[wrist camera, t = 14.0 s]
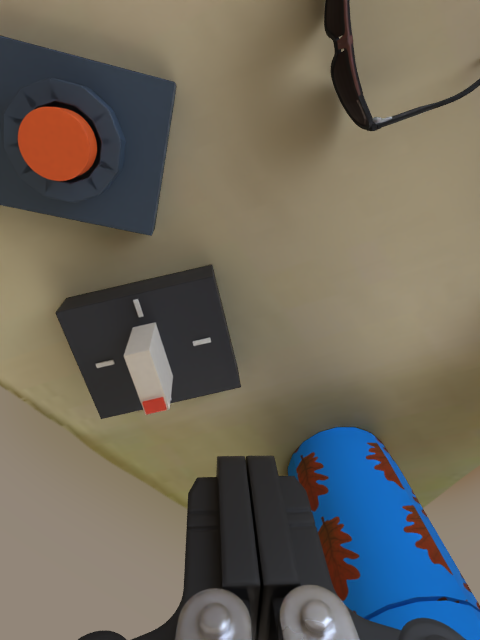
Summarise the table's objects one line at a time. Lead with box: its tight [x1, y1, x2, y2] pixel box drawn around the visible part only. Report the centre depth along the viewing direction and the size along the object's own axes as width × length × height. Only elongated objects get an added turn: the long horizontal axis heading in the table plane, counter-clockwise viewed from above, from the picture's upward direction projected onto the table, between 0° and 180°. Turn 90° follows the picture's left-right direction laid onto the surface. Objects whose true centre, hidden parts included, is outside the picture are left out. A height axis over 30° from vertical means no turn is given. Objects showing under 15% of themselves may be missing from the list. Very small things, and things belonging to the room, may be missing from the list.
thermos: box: [288, 427, 480, 640], centre depth 33 cm, size 11×11×25 cm
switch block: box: [0, 36, 177, 236], centre depth 28 cm, size 12×10×4 cm
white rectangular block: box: [124, 322, 173, 415], centre depth 32 cm, size 5×2×5 cm, turn 12°
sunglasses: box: [324, 0, 480, 131], centre depth 27 cm, size 10×12×5 cm
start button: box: [18, 106, 97, 181], centre depth 26 cm, size 4×4×2 cm
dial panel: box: [56, 265, 241, 419], centre depth 35 cm, size 12×10×3 cm
